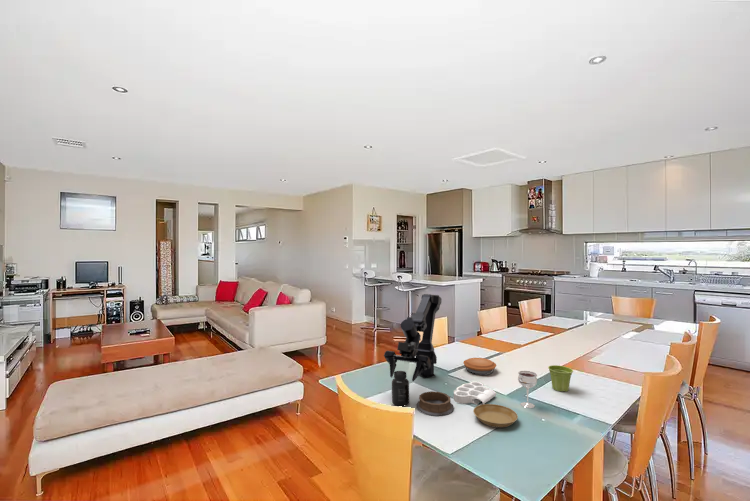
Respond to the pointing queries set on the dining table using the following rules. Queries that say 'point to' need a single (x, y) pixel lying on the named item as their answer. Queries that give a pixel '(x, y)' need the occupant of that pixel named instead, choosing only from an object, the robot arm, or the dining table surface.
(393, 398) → the supplement bottle
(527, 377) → the wineglass
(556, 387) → the plant pot
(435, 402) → the walnut collar
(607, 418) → the dining table surface
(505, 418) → the plant saucer
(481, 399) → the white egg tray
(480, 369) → the pie
